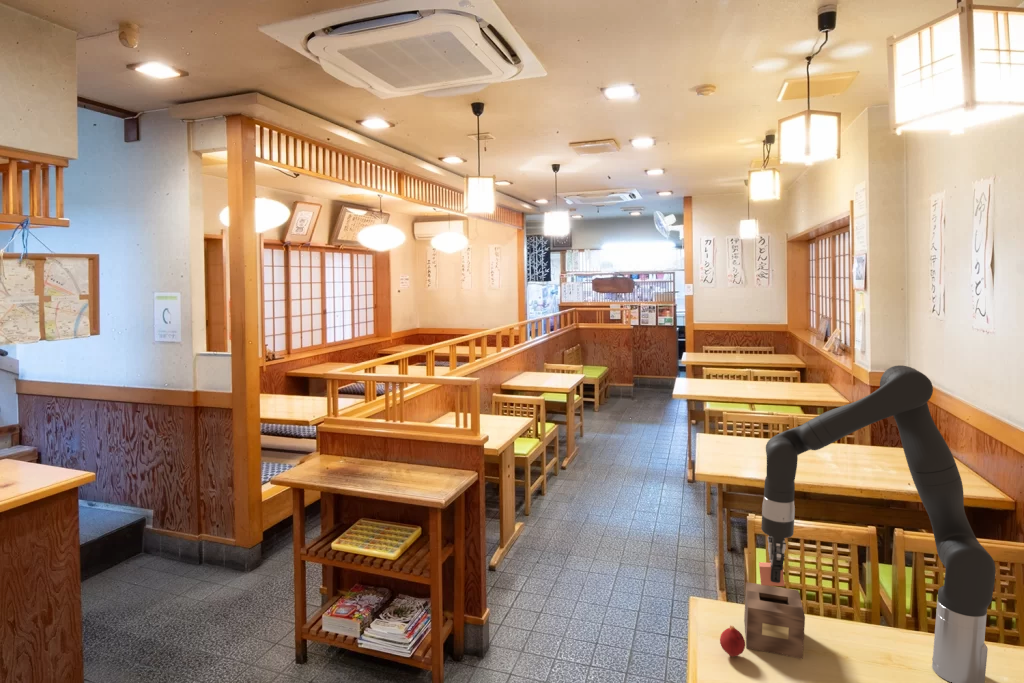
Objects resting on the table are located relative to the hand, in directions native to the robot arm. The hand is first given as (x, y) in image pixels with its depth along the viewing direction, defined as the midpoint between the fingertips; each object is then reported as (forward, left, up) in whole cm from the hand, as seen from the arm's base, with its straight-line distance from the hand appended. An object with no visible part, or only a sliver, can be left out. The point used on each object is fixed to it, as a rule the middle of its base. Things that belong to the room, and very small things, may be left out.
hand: (774, 578), depth 152 cm
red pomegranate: (+10, +11, -17) cm, 22 cm away
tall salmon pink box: (+4, 0, +1) cm, 4 cm away
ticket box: (0, 0, -16) cm, 16 cm away
